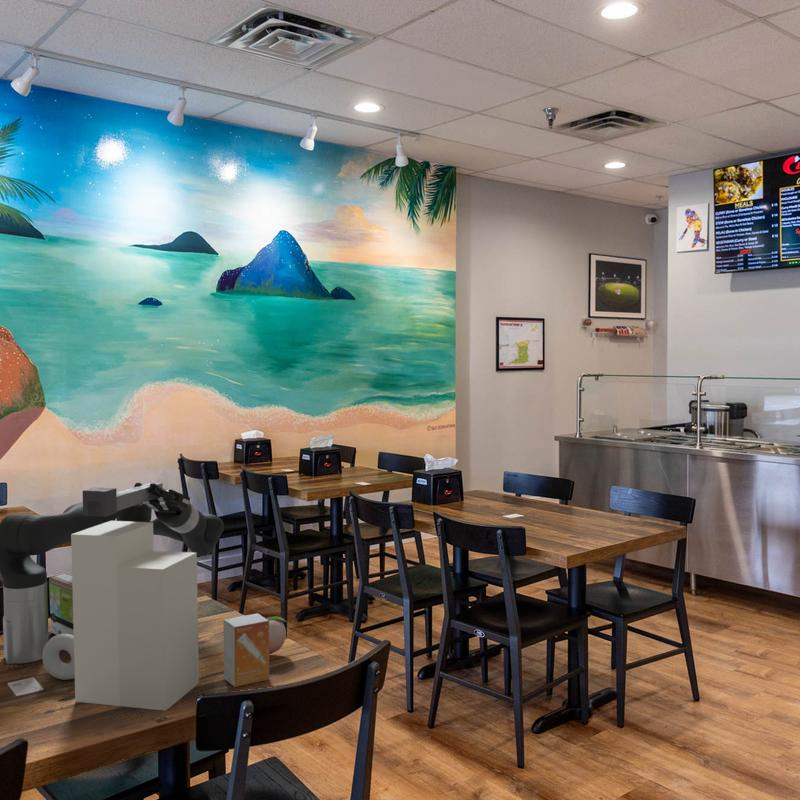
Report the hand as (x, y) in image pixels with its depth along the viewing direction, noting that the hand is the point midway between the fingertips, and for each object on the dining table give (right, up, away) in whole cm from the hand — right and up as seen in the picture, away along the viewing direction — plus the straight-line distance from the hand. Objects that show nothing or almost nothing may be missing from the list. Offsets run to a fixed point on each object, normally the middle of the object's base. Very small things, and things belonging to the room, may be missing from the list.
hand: (143, 486), depth 180 cm
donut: (-16, -41, -4) cm, 44 cm away
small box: (+23, -41, -4) cm, 47 cm away
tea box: (-23, -40, +25) cm, 52 cm away
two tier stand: (+2, -41, -11) cm, 43 cm away
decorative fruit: (+26, -40, +9) cm, 49 cm away
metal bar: (-1, -3, -6) cm, 7 cm away
